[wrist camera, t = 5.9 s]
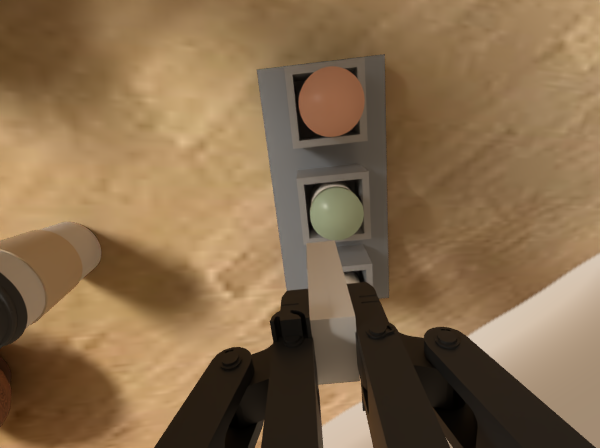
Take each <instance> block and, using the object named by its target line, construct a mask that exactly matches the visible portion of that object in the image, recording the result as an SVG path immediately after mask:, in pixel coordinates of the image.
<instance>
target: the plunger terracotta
mask: <svg viewBox="0 0 600 448" xmlns="http://www.w3.org/2000/svg"><path fill="white" fill-rule="evenodd" d="M364 104H365V97H364V91H363V88H362V85H361V84H360V82H359V80H358V79H357V78H356V76H355V75H354V74H352V73H351V72H350V71H348V70H346V69H344V68H341V67H336V66H329V67H324V68H321V69H319V70H317V71H315V72H314V73H313V74H311V75H310V76H309V77H308V78H307V80H306V81H305V83H304V84H303V86H302V88H301V91H300V95H299V111H300V114H301V117H302V119H303V121H304V123H305V124H306V125H307V127H308V128H309V129H310V130H312V131H313V132H315V133H316V134H319V135H321V136H325V137H336V136H340V135H343V134H345V133H347V132H348V131H350V130H351V129H352V128H353V127H354V126H355V125H356V124H357V123H358V121H359V120H360V118H361V116H362V113H363V110H364Z"/></svg>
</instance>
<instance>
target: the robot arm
mask: <svg viewBox="0 0 600 448" xmlns="http://www.w3.org/2000/svg"><path fill="white" fill-rule="evenodd" d="M306 248H307V271H308V289H298V290H288V291H286V293H285V294H284V295H283V297H282V300H281V310H280V311H279V312H277V313H276V314H275V315H273V316H272V318H271V320H270V325H271V331H272V336H273V344H272V345H271V346H270V347H268V348H267V349H265V350H263V351H261V352H258V353H255V354H252V355H251V353H250V352H249V351H248V350H247V349H245V348H241V347H232V348H229V349H226V350H224V351H222V352H220V353H219V354H217V355H216V357H215V358H214V359H213V360H212V361H211V363H210V364H209V366H208V367H207V369H206V370H205V372H204V373H203V375H202V376H201V378H200V379H199V381H198V382H197V384H196V385H195V387H194V388H193V390H192V391H191V393H190V394H189V396H188V397H187V399H186V400H185V402H184V403H183V405H182V406H181V408H180V409H179V411H178V413H177V414H176V416H175V417H174V419H173V420H172V422H171V423H170V425H169V426H168V428H167V429H166V431H165V432H164V434H163V435H162V437H161V438H160V440H159V441H158V443H157V444H156V446H155V447H154V448H255V445H256V443H257V440H258V437H259V434H260V432H261V429H262V426H263V422H264V428H263V436H262V445H261V448H323V440H322V439H323V438H322V424H321V410H320V397H319V389H318V385H320V384H332V383H343V382H354V381H360V379H361V389H362V404H363V411H366V415H367V420H368V424H369V429H370V434H371V438H372V443H373V448H450V446H449V444H448V442H447V440H448V441H449V443H450V444H451V445H452V447H453V448H596V447H594V446H593V445H592V444H591V443H589V442H588V441H587V440H586V439H585V438H584V437H583V436H582V435H580V434H579V433H578V432H577V431H576V430H575V429H573V428H572V427H571V426H570V425H569V424H568V423H566V422H565V421H564V420H563V419H562V418H561V417H560V416H558V415H557V414H556V413H555V412H554V411H552V410H551V409H550V408H549V407H548V406H547V405H546V404H544V403H543V402H542V401H541V400H540V399H539V398H537V397H536V396H535V395H534V394H533V393H532V392H531V391H529V390H528V389H527V388H526V387H525V386H524V385H522V384H521V383H520V382H519V381H518V380H517V379H515V378H514V377H513V376H512V375H511V374H510V373H508V372H507V371H506V370H505V369H504V368H503V367H501V366H500V365H499V364H498V363H497V362H496V361H495V360H493V359H492V358H491V357H490V356H489V355H488V354H486V353H485V352H484V351H483V350H482V349H480V348H479V347H478V346H477V345H476V344H475V343H474V342H472V341H471V340H470V339H469V338H468V337H467V336H466V335H464V334H463V333H461V332H459V331H457V330H455V329H452V328H447V327H436V328H432V329H430V330H428V331H427V332H426V333H425V335H424V338H420V337H412V336H408V335H404V334H402V333H399V332H398V330H397V329H396V327H395V326H394V325H392V324H391V323H389V321H388V319H387V317H386V314H385V312H384V310H383V307H382V305H381V303H380V301H379V298H378V296H377V293H376V291H375V289H374V287H373V286H371V285H370V284H369V283H367V282H360V283H350V284H346V280H345V276H344V273H343V269H342V266H341V262H340V258H339V255H338V251H337V247H336V244H335V240H334V241H325V242H315V243H306ZM359 375H360V377H359ZM446 438H447V440H446Z"/></svg>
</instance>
